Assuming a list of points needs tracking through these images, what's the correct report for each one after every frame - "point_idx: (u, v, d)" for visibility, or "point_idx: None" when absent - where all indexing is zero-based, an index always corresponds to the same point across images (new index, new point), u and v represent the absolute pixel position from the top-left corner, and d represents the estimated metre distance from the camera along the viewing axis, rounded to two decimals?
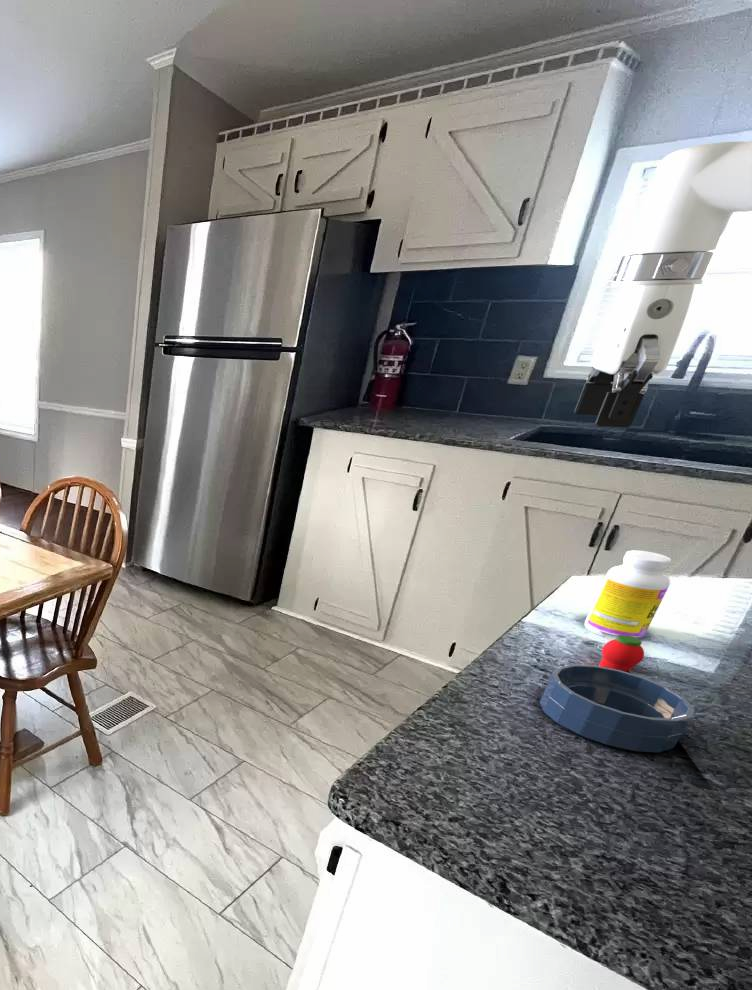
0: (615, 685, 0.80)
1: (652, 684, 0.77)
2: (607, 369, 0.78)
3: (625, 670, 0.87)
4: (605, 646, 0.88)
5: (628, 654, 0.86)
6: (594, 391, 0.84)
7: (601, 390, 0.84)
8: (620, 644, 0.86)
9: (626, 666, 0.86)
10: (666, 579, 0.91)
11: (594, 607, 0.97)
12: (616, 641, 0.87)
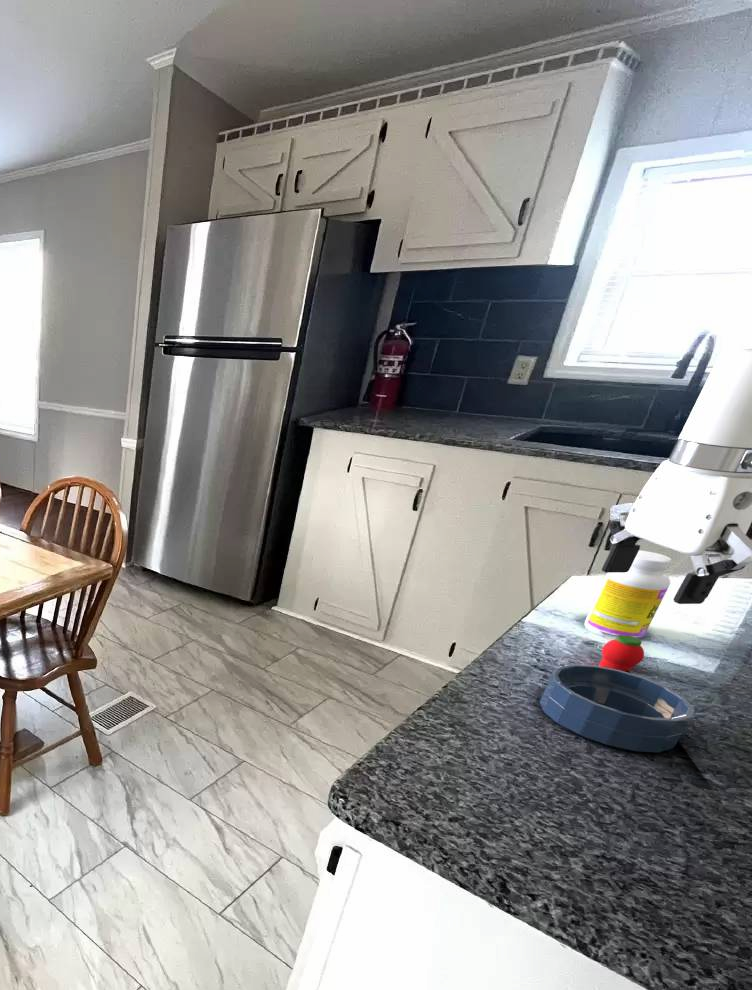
0: (615, 685, 0.80)
1: (652, 684, 0.77)
2: (682, 549, 0.78)
3: (625, 670, 0.87)
4: (605, 646, 0.88)
5: (628, 654, 0.86)
6: (623, 552, 0.86)
7: (628, 551, 0.86)
8: (620, 644, 0.86)
9: (626, 666, 0.86)
10: (666, 579, 0.91)
11: (594, 607, 0.97)
12: (616, 641, 0.87)
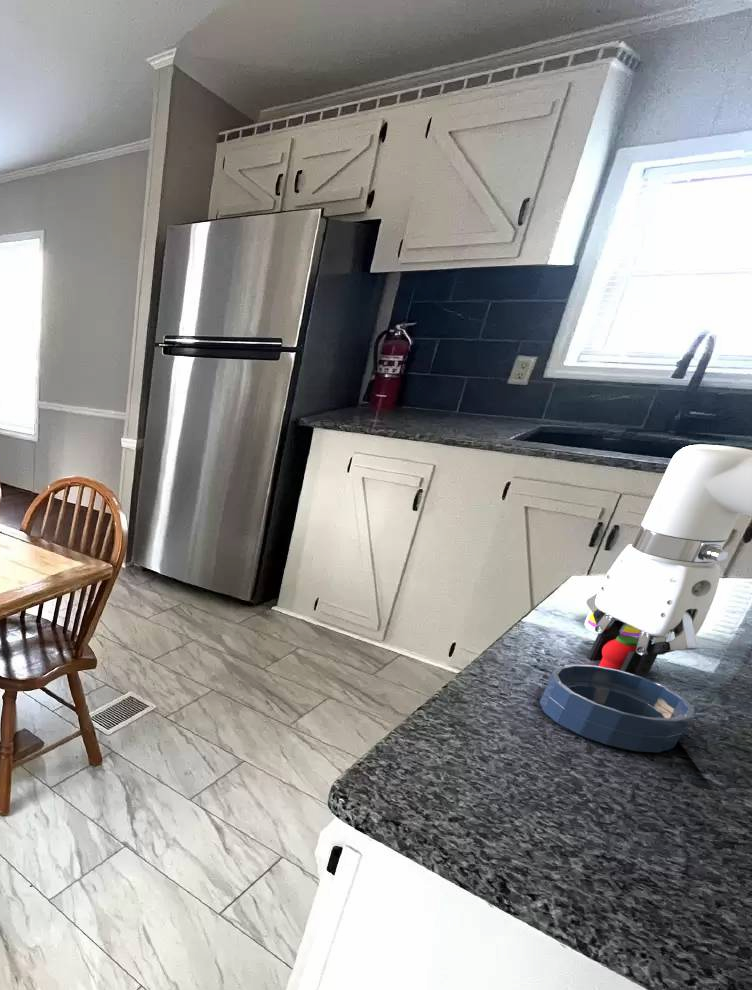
0: (615, 685, 0.80)
1: (652, 684, 0.77)
2: (646, 630, 0.82)
3: None
4: (605, 646, 0.88)
5: None
6: None
7: None
8: (620, 644, 0.86)
9: None
10: None
11: None
12: (616, 641, 0.87)
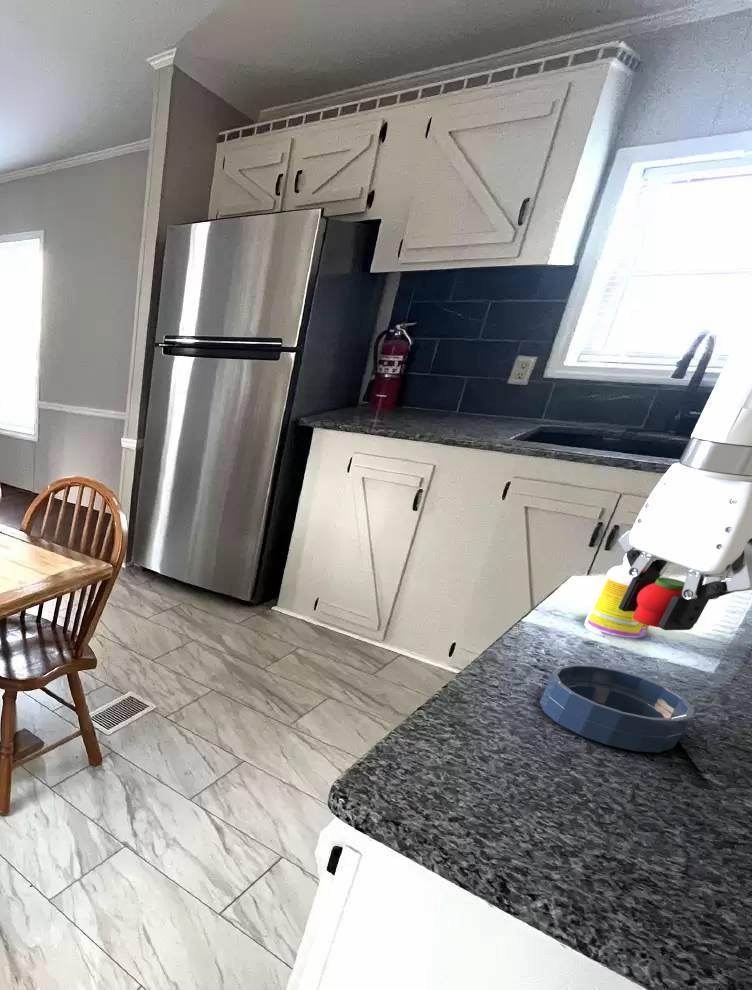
0: (615, 685, 0.80)
1: (652, 684, 0.77)
2: (696, 568, 0.66)
3: None
4: (641, 592, 0.72)
5: None
6: None
7: None
8: (660, 587, 0.70)
9: None
10: None
11: (594, 607, 0.97)
12: (655, 585, 0.71)
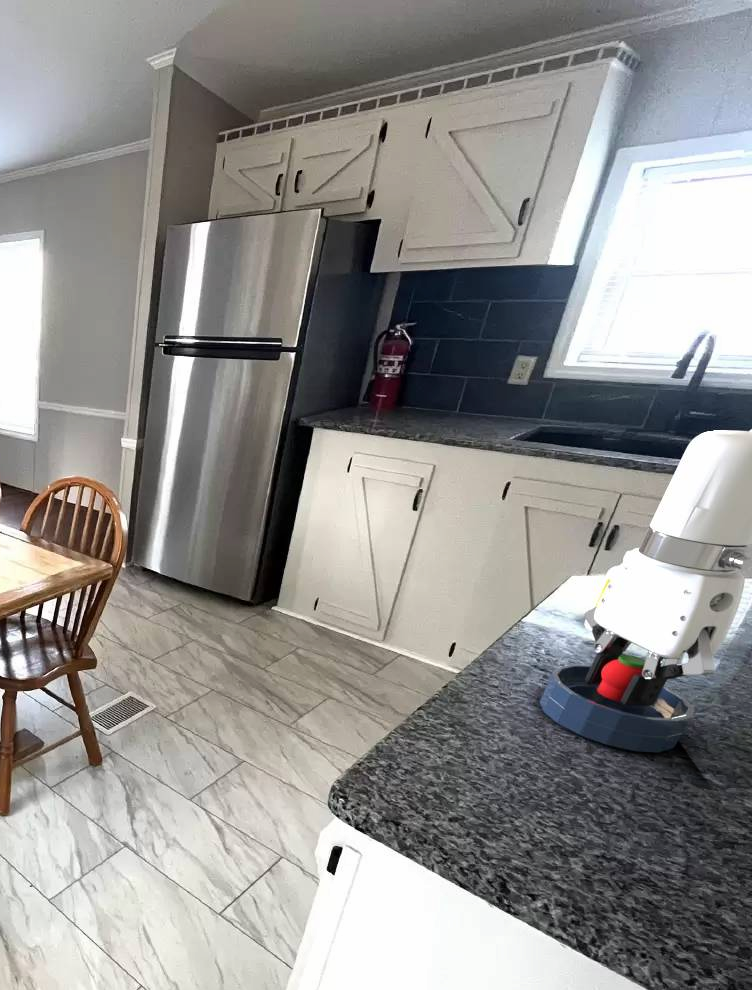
0: None
1: None
2: (655, 651, 0.70)
3: None
4: (605, 667, 0.75)
5: None
6: None
7: None
8: (622, 665, 0.74)
9: None
10: None
11: None
12: (618, 662, 0.74)
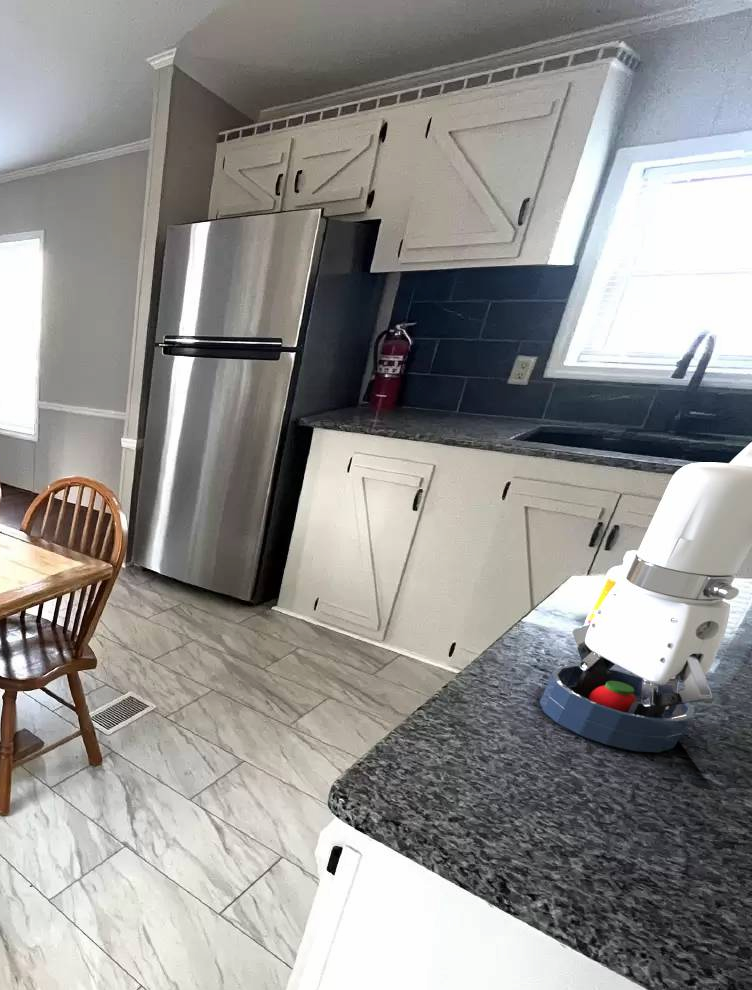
0: None
1: None
2: (644, 676, 0.71)
3: None
4: (592, 693, 0.77)
5: (619, 704, 0.74)
6: (593, 681, 0.78)
7: (599, 679, 0.78)
8: (609, 691, 0.75)
9: None
10: None
11: (594, 607, 0.97)
12: (605, 688, 0.76)
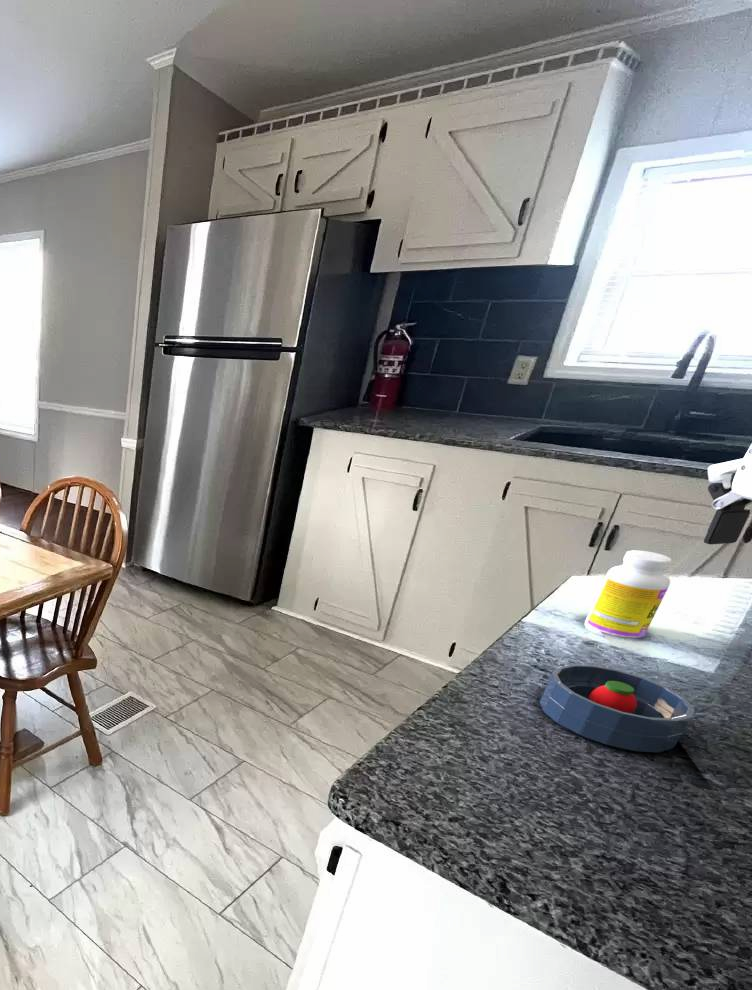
0: None
1: (652, 684, 0.77)
2: None
3: None
4: (592, 693, 0.77)
5: (619, 704, 0.74)
6: (730, 519, 0.72)
7: (736, 518, 0.72)
8: (609, 691, 0.75)
9: None
10: (666, 579, 0.91)
11: (594, 607, 0.97)
12: (605, 688, 0.76)
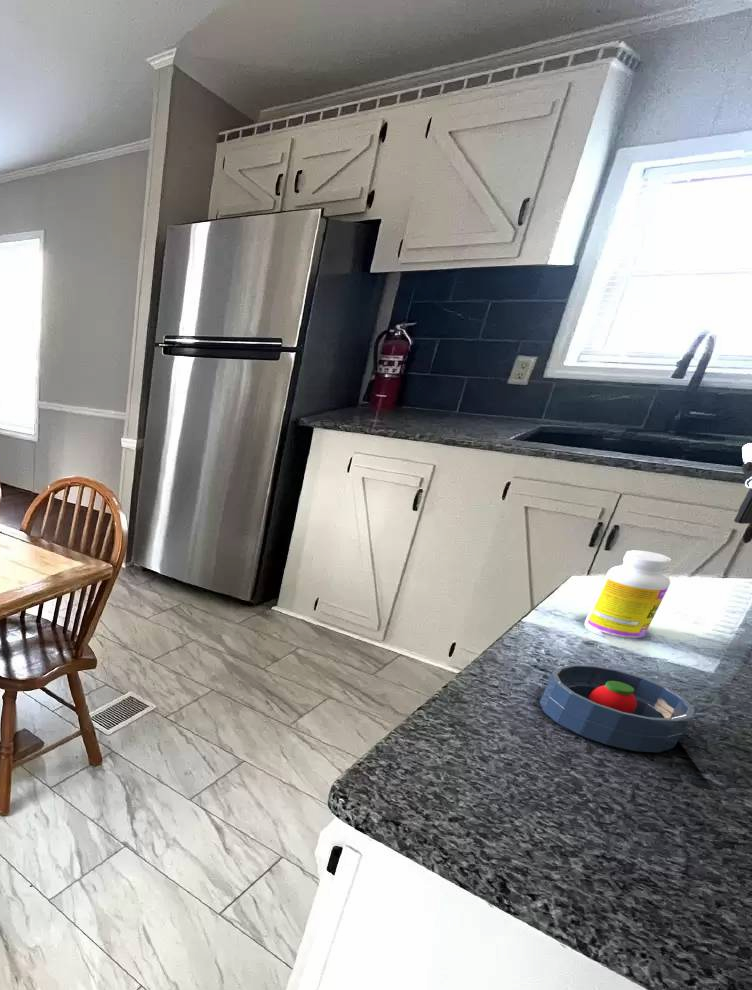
0: None
1: (652, 684, 0.77)
2: None
3: None
4: (592, 693, 0.77)
5: (619, 704, 0.74)
6: None
7: None
8: (609, 691, 0.75)
9: None
10: (666, 579, 0.91)
11: (594, 607, 0.97)
12: (605, 688, 0.76)
